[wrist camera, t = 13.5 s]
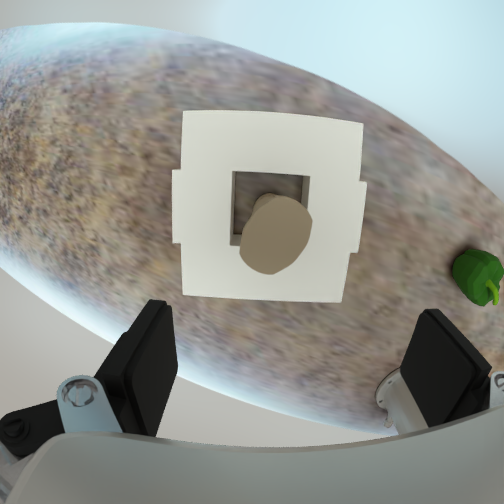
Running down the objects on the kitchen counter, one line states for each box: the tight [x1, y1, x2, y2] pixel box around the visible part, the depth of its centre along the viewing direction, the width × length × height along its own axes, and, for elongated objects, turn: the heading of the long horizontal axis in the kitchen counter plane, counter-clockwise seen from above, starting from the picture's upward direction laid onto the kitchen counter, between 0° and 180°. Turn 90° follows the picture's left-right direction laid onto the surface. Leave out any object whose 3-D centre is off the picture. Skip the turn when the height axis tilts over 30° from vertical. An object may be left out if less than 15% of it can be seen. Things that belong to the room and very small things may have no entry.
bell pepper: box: [452, 249, 504, 306], centre depth 34 cm, size 8×8×10 cm
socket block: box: [172, 110, 367, 303], centre depth 34 cm, size 22×22×5 cm
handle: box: [239, 193, 313, 275], centre depth 29 cm, size 5×6×15 cm
